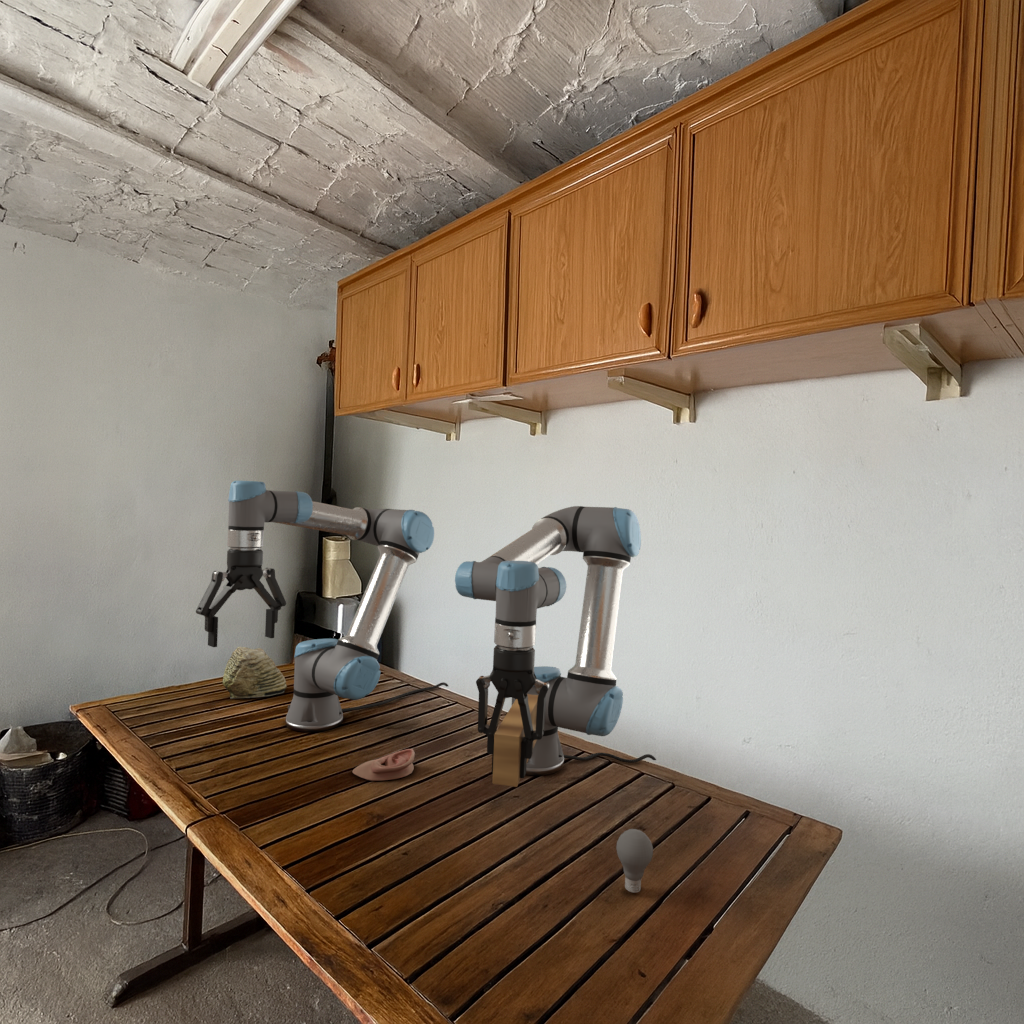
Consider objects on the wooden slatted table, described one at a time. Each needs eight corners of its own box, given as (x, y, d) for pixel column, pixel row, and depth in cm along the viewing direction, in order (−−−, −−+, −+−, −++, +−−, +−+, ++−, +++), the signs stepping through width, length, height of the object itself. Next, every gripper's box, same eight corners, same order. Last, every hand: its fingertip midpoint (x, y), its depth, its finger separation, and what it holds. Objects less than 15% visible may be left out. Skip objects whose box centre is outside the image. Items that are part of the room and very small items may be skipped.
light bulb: (610, 879, 108) (613, 822, 108) (644, 879, 109) (647, 822, 109) (619, 902, 102) (622, 840, 102) (655, 901, 103) (658, 840, 103)
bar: (517, 734, 137) (519, 693, 136) (538, 736, 136) (540, 695, 136) (492, 783, 112) (494, 733, 112) (517, 787, 112) (519, 736, 111)
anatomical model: (346, 759, 143) (368, 741, 154) (346, 777, 143) (367, 757, 154) (402, 767, 140) (420, 748, 152) (401, 785, 140) (419, 764, 152)
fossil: (218, 695, 195) (220, 647, 195) (278, 685, 208) (279, 640, 207) (228, 703, 189) (230, 653, 188) (289, 692, 201) (290, 645, 201)
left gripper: (197, 551, 132) (194, 653, 132) (303, 548, 151) (299, 636, 152) (181, 549, 136) (177, 646, 137) (285, 545, 156) (282, 631, 156)
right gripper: (462, 646, 113) (457, 775, 114) (560, 655, 110) (554, 788, 110) (473, 637, 121) (467, 759, 121) (564, 645, 117) (559, 770, 118)
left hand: (242, 641), depth 144 cm, fingers open, 13 cm apart
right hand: (508, 772), depth 116 cm, fingers closed on bar, 4 cm apart
